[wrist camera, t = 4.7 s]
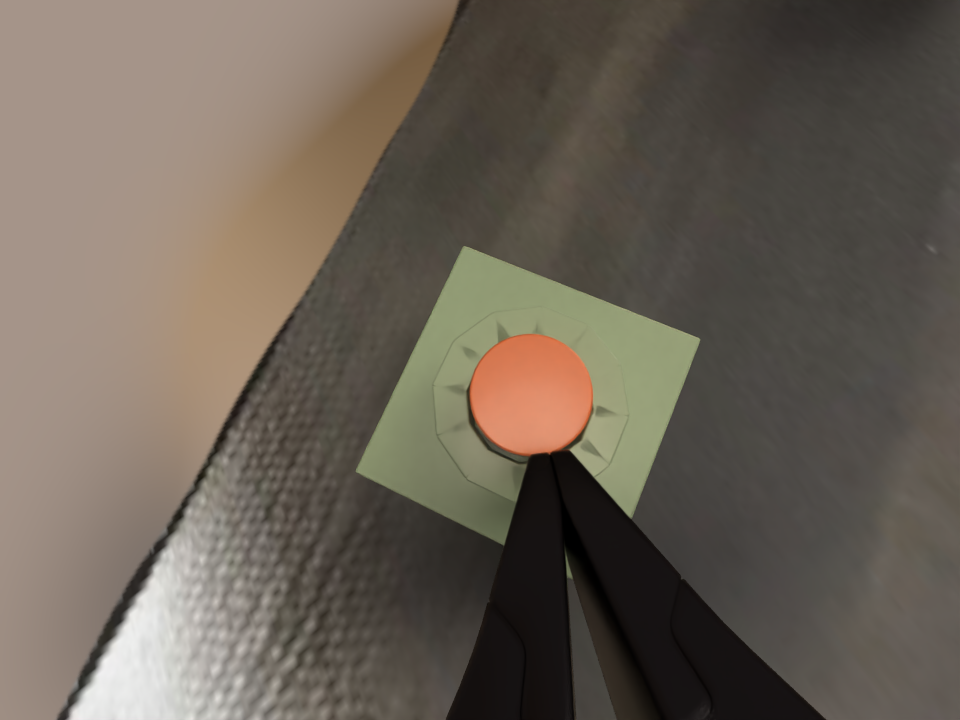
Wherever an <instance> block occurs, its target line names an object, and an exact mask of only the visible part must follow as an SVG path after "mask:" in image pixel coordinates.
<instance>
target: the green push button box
mask: <svg viewBox="0 0 960 720" xmlns="http://www.w3.org/2000/svg"><path fill="white" fill-rule="evenodd" d="M522 334H540V335H545V336H549V337H551V338H554V339H556V340H559V341H561V342H562V343H564V344H565V345H567V346H568V347H570V348H571V349H572V350H573V351H574V352H575V353H576V354H577V355H578V356H579V357H580V359H581V360H582V361H583V363H584V364H585V366H586V368H587V370H588V372H589V375H590V378H591V382H592V387H593V405H592V410H591V414H590V417H589V419H588V421H587V423H586V425H585V427H584V429H583V430H582V432H581V433H580V434H579V435H578V436H577V438H576V439H575V440H574V441H572V442H571V443H570V444H569V445H567V446H566V447H564V448H563V449H561V450H565V449H568V450H570V451H571V452H572V453H573V454H574V455H575V456H576V457H577V458H578V460H579V461H580V462H581V463H582V464H583V465H584V466H585V468H586V469H587V470H588V471H589V472H590V473H591V474H592V475H593V477H594V478H595V479H596V480H597V481H598V482H599V483H600V484H601V486H602V487H603V488H604V489H605V490H606V491H607V492H608V494H609V495H610V496H611V497H612V498H613V499H614V500H615V501H616V503H617V504H618V505H619V506H620V507H621V508H622V509H623V511H624V512H625V513H626V514H627V515H628V516H629V517H630V518H631V519H632V516H633V513H634V511H635V508H636V506H637V503H638V501H639V498H640V495H641V493H642V490H643V488H644V485H645V482H646V480H647V477H648V475H649V472H650V469H651V467H652V464H653V462H654V459H655V456H656V454H657V451H658V449H659V446H660V443H661V441H662V438H663V436H664V433H665V430H666V428H667V425H668V423H669V420H670V417H671V415H672V412H673V410H674V407H675V405H676V402H677V399H678V397H679V394H680V392H681V389H682V386H683V384H684V381H685V379H686V376H687V373H688V371H689V368H690V366H691V363H692V360H693V358H694V355H695V353H696V350H697V347H698V345H699V342H700V339H699V338H697V337H694V336H692V335H689V334H687V333H684V332H682V331H679V330H677V329H674V328H672V327H669V326H666V325H664V324H661V323H659V322H656V321H654V320H651V319H649V318H646V317H644V316H641V315H639V314H636V313H633V312H631V311H628V310H626V309H623V308H621V307H618V306H616V305H613V304H611V303H608V302H605V301H603V300H600V299H598V298H595V297H593V296H590V295H588V294H585V293H583V292H580V291H578V290H575V289H572V288H570V287H567V286H565V285H562V284H560V283H557V282H555V281H552V280H550V279H547V278H544V277H542V276H539V275H537V274H534V273H532V272H529V271H527V270H524V269H522V268H519V267H517V266H514V265H511V264H509V263H506V262H504V261H501V260H499V259H496V258H494V257H491V256H489V255H486V254H483V253H481V252H478V251H476V250H473V249H471V248H468V247H466V246H464V247H463V248H462V250H461V252H460V254H459V256H458V258H457V261H456V263H455V265H454V267H453V269H452V271H451V273H450V275H449V277H448V279H447V281H446V283H445V285H444V288H443V290H442V292H441V294H440V296H439V298H438V300H437V302H436V304H435V306H434V308H433V310H432V313H431V315H430V317H429V319H428V321H427V323H426V325H425V327H424V329H423V331H422V333H421V335H420V338H419V340H418V342H417V344H416V346H415V348H414V350H413V352H412V354H411V356H410V358H409V360H408V363H407V365H406V367H405V369H404V371H403V373H402V375H401V377H400V379H399V381H398V383H397V385H396V387H395V390H394V392H393V394H392V396H391V398H390V400H389V402H388V404H387V406H386V408H385V410H384V412H383V415H382V417H381V419H380V421H379V423H378V425H377V427H376V429H375V431H374V433H373V435H372V437H371V440H370V442H369V444H368V446H367V448H366V450H365V452H364V454H363V456H362V458H361V460H360V462H359V465H358V467H357V469H356V472H357V473H358V474H360V475H362V476H364V477H366V478H368V479H370V480H372V481H374V482H376V483H378V484H380V485H382V486H384V487H386V488H388V489H390V490H392V491H394V492H396V493H398V494H401V495H403V496H405V497H407V498H409V499H411V500H413V501H415V502H417V503H419V504H421V505H423V506H425V507H427V508H429V509H431V510H433V511H435V512H437V513H439V514H441V515H443V516H445V517H447V518H449V519H451V520H453V521H455V522H457V523H459V524H461V525H463V526H465V527H467V528H469V529H471V530H473V531H475V532H477V533H479V534H481V535H483V536H485V537H488V538H490V539H492V540H494V541H496V542H498V543H500V544H502V545H504V544H505V540H506V536H507V533H508V529H509V526H510V522H511V519H512V515H513V512H514V508H515V504H516V501H517V497H518V494H519V490H520V487H521V483H522V480H523V476H524V473H525V469H526V465H527V462H528V458H529V456H521V455H516V454H513V453H510V452H507V451H505V450H503V449H501V448H500V447H498V446H497V445H495V444H494V443H492V442H491V441H490V440H489V439H488V438H487V437H486V436H485V435H484V433H483V432H482V431H481V430H480V428H479V426H478V425H477V423H476V421H475V419H474V417H473V414H472V410H471V406H470V397H469V391H470V383H471V379H472V375H473V373H474V370H475V368H476V366H477V364H478V362H479V361H480V360H481V358H482V357H483V356H484V355H485V353H486V352H487V351H488V350H489V349H491V348H492V347H493V346H494V345H496V344H497V343H499V342H501V341H503V340H505V339H507V338H510V337H513V336H516V335H522ZM565 554H566V552H565ZM566 567H567V577H568V578H570V579H572V580H573V577H572V574H571V571H570V568H569V564H568V561H567V557H566Z"/></svg>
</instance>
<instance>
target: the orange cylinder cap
mask: <svg viewBox="0 0 960 720" xmlns="http://www.w3.org/2000/svg"><path fill="white" fill-rule="evenodd" d="M469 397H470V406H471V410H472V414H473V417H474V419H475V421H476V423H477V425H478V426H479V428H480V430H481V431H482V432H483V433H484V435H485V436H486V437H487V438H488V439H489V440H490V441H491V442H492V443H494V444H495V445H497V446H498V447H500V448H501V449H503V450H505V451H507V452H510V453H513V454H516V455H521V456H530V455H531V454H535V453H543V452H547V453H549V454H550V453H551V452H552V451H558V450H561V449H563V448H564V447H566V446H567V445H569V444H570V443H571V442H572V441H574V440H575V439H576V438H577V436H578V435H579V434H580V433H581V432H582V430H583V429H584V427H585V425H586V423H587V421H588V419H589V417H590V414H591V410H592V405H593V387H592V382H591V378H590V375H589V372H588V370H587V368H586V366H585V364H584V363H583V361H582V360H581V359H580V357H579V356H578V355H577V354H576V353H575V352H574V351H573V350H572V349H571V348H570V347H568V346H567V345H565V344H564V343H562V342H561V341H559V340H556V339H554V338H551V337H549V336H545V335H540V334H522V335H516V336H513V337H510V338H507V339H505V340H503V341H501V342H499V343H497V344H496V345H494V346H493V347H492V348H491V349H489V350H488V351H487V352H486V353H485V355H484V356H483V357H482V358H481V360H480V361H479V362H478V364H477V366H476V368H475V370H474V373H473V375H472V379H471V383H470V391H469Z"/></svg>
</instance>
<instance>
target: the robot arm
mask: <svg viewBox="0 0 960 720" xmlns="http://www.w3.org/2000/svg"><path fill="white" fill-rule="evenodd" d="M565 552H566V554H565ZM566 557H567V561H568V564H569V568H570V571H571V574H572V577H573V581H574V584H575V587H576V590H577V593H578V597H579V600H580V603H581V606H582V609H583V613H584V616H585V619H586V622H587V625H588V629H589V632H590V635H591V638H592V641H593V645H594V648H595V651H596V654H597V657H598V661H599V664H600V667H601V670H602V673H603V677H604V680H605V683H606V686H607V689H608V693H609V696H610V699H611V702H612V705H613V709H614V712H615V715H616V718H617V720H826V719H825V718H824V717H823V716H822V715H821V714H820V713H819V712H817V711H816V710H815V709H814V708H813V707H812V706H811V705H810V704H809V703H808V702H807V701H806V700H805V699H804V698H803V697H801V696H800V695H799V694H798V693H797V692H796V691H795V690H794V689H793V688H792V687H791V686H790V685H789V684H788V683H787V682H785V681H784V680H783V679H782V678H781V677H780V676H779V675H778V674H777V673H776V672H775V671H774V670H773V669H772V668H770V667H769V666H768V665H767V664H766V663H765V662H764V661H763V660H762V659H761V658H760V657H759V656H758V655H757V654H756V653H754V652H753V651H752V650H751V649H750V648H749V647H748V646H747V645H746V644H745V643H744V642H743V641H742V640H741V639H740V638H739V637H738V636H737V635H736V634H735V633H734V632H733V631H732V630H731V629H730V628H729V627H728V626H727V625H726V624H725V623H724V622H723V621H722V620H721V619H720V618H719V617H718V616H717V615H716V614H715V612H714V611H713V610H712V609H711V608H710V607H709V606H708V605H707V604H706V603H705V602H704V601H703V600H702V599H701V597H700V596H699V595H698V594H697V593H696V592H695V591H694V590H693V588H692V587H691V586H690V585H689V584H688V583H687V582H686V580H684V579H682V580H681V575H680V574H679V573H678V572H677V571H676V569H675V568H674V567H673V566H672V565H671V564H670V563H669V561H668V560H667V559H666V558H665V557H664V556H663V555H662V554H661V552H660V551H659V550H658V549H657V548H656V547H655V546H654V545H653V543H652V542H651V541H650V540H649V539H648V538H647V537H646V535H645V534H644V533H643V532H642V531H641V530H640V529H639V528H638V526H637V525H636V524H635V523H634V522H633V521H632V520H631V518H630V517H629V516H628V515H627V514H626V513H625V512H624V511H623V509H622V508H621V507H620V506H619V505H618V504H617V503H616V501H615V500H614V499H613V498H612V497H611V496H610V495H609V494H608V492H607V491H606V490H605V489H604V488H603V487H602V486H601V484H600V483H599V482H598V481H597V480H596V479H595V478H594V477H593V475H592V474H591V473H590V472H589V471H588V470H587V469H586V468H585V466H584V465H583V464H582V463H581V462H580V461H579V460H578V458H577V457H576V456H575V455H574V454H573V453H572V452H571V451H570V450H568V449H565V450H558V451H552V452H551V453H550V454H549V453H547V452H543V453H535V454H531V455H530V456H529V458H528V462H527V465H526V469H525V473H524V476H523V480H522V483H521V487H520V490H519V494H518V497H517V501H516V504H515V508H514V512H513V515H512V519H511V522H510V526H509V529H508V533H507V536H506V540H505V544H504V547H503V551H502V554H501V558H500V561H499V565H498V568H497V572H496V575H495V579H494V583H493V586H492V590H491V593H490V597H489V601H490V602H488V603H487V607H486V610H485V614H484V617H483V621H482V624H481V627H480V630H479V633H478V637H477V640H476V643H475V646H474V649H473V652H472V655H471V658H470V660H469V663H468V665H467V668H466V671H465V673H464V676H463V679H462V681H461V684H460V686H459V689H458V691H457V693H456V696H455V698H454V701H453V703H452V705H451V708H450V710H449V713H448V715H447V717H446V720H576V706H575V690H574V675H573V659H572V644H571V628H570V613H569V597H568V582H567V567H566Z"/></svg>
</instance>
